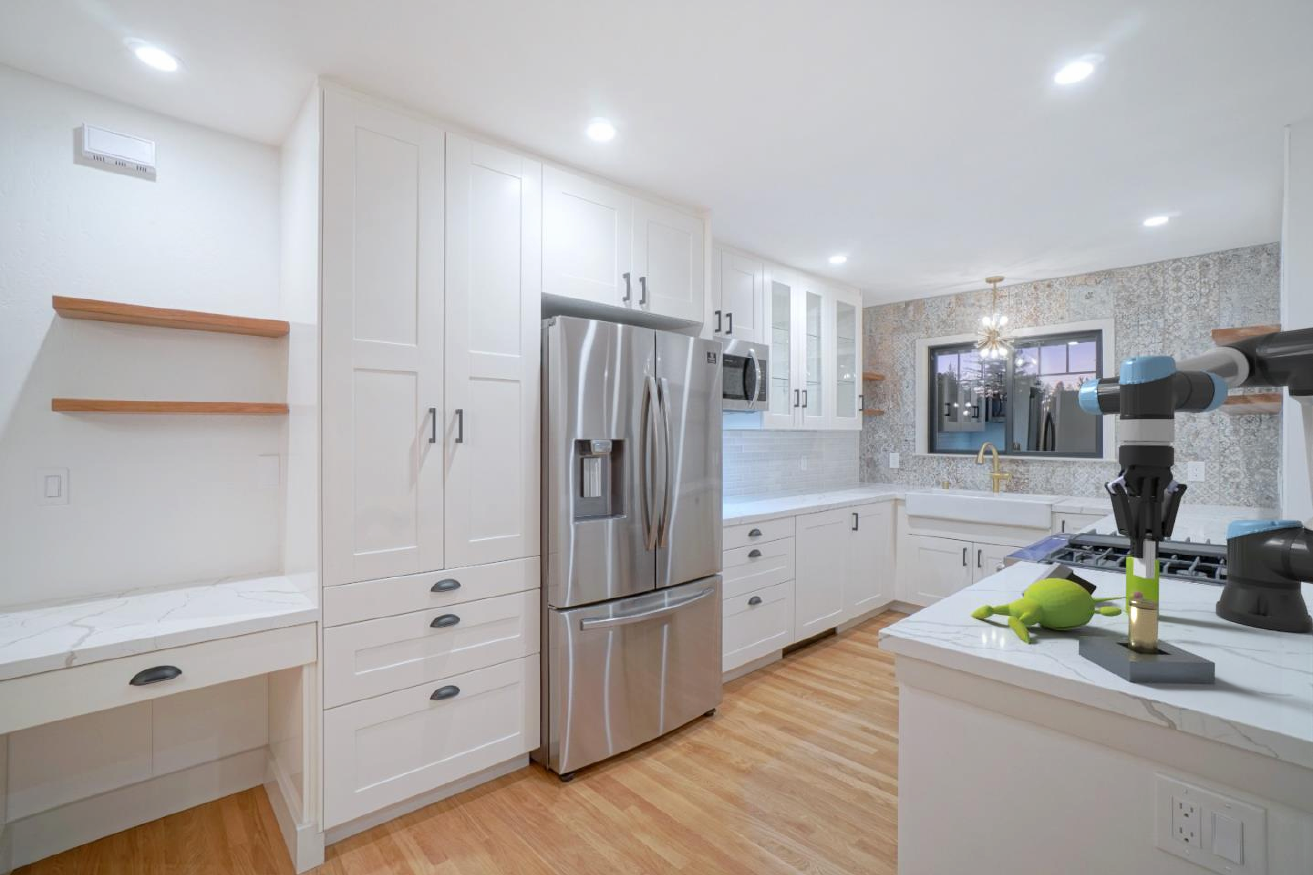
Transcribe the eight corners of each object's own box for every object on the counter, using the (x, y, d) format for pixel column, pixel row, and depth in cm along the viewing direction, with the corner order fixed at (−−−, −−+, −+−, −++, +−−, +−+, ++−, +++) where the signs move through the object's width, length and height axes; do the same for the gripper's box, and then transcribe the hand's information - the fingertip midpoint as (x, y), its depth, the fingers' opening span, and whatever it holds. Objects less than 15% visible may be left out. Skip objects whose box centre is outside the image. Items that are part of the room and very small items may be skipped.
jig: (1154, 656, 108) (1154, 637, 108) (1214, 683, 96) (1215, 662, 96) (1078, 654, 109) (1079, 636, 109) (1129, 681, 97) (1129, 660, 97)
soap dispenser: (1119, 609, 138) (1120, 526, 138) (1157, 614, 134) (1158, 529, 134) (1120, 615, 134) (1122, 529, 134) (1160, 621, 130) (1161, 532, 129)
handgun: (1046, 626, 147) (1017, 591, 146) (1089, 586, 148) (1060, 551, 147) (1057, 631, 143) (1027, 595, 143) (1101, 590, 144) (1071, 554, 143)
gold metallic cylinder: (1144, 664, 104) (1145, 598, 104) (1163, 673, 100) (1164, 604, 100) (1122, 663, 105) (1123, 597, 105) (1140, 672, 101) (1141, 604, 101)
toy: (1037, 661, 113) (1168, 625, 117) (1027, 608, 112) (1158, 574, 116) (969, 628, 132) (1083, 599, 136) (960, 584, 132) (1075, 555, 136)
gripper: (1165, 444, 106) (1163, 572, 106) (1093, 443, 106) (1091, 570, 106) (1203, 444, 98) (1201, 582, 99) (1125, 443, 99) (1123, 581, 99)
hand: (1143, 576), depth 102 cm, fingers closed
